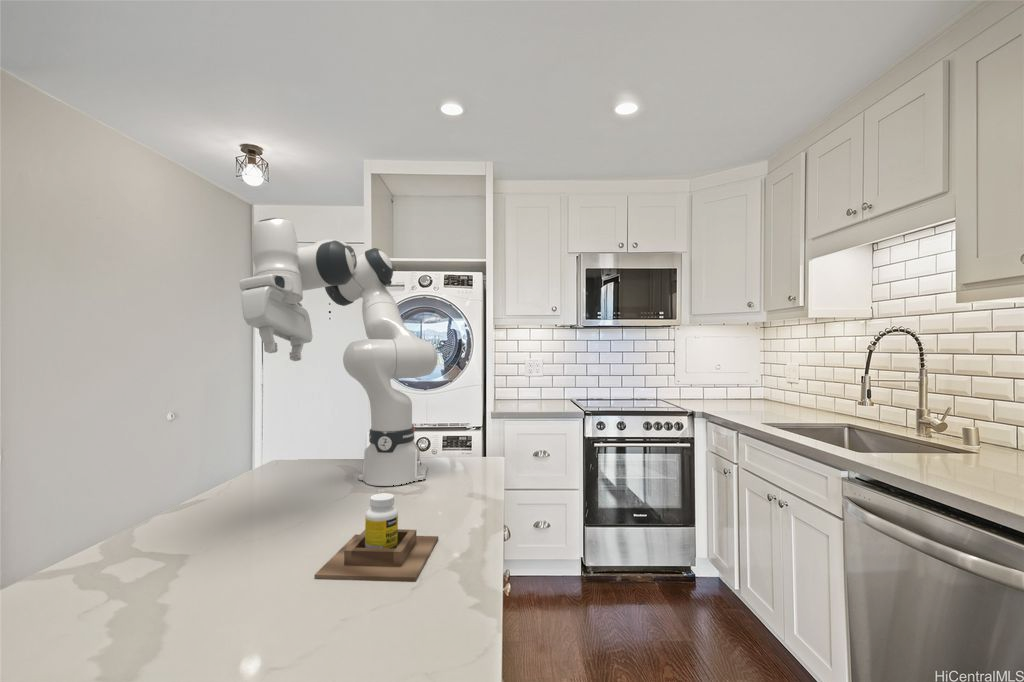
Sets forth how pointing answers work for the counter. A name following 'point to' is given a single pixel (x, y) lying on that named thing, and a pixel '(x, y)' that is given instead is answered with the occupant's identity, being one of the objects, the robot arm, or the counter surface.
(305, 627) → the counter surface
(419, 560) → the walnut can holder
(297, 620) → the counter surface
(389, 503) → the supplement bottle
